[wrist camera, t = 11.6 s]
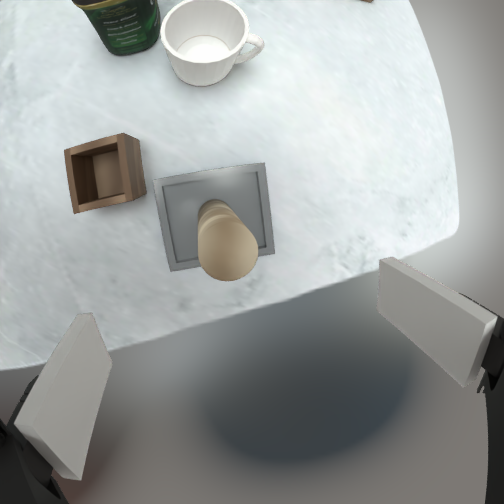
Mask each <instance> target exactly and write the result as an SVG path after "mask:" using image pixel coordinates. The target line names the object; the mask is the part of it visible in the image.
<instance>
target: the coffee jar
mask: <svg viewBox="0 0 504 504" xmlns="http://www.w3.org/2000/svg"><path fill="white" fill-rule="evenodd" d="M72 1H73V3H74V4H75V5H76V6H77V7H79V8H81V9H82V10H83V11H84V12H85V14H86V15H87V17H88V18H89V20H90V22H91V23H92V25H93V26H94V28H95V30H96V31H97V33H98V35H99V36H100V38H101V40H102V41H103V43H104V45H105V46H106V48H107V49H108V51H109V52H111V53H113V54H116V55H123V54H130V53H135V52H139V51H142V50H145V49H147V48H149V47H150V46H151V45H153V44H154V43H155V41H156V40H157V38H158V34H159V28H160V12H159V7H158V2H157V0H72Z"/></svg>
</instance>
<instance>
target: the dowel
mask: <svg viewBox="0 0 504 504" xmlns="http://www.w3.org/2000/svg"><path fill="white" fill-rule="evenodd" d="M198 258H199V262H200V264H201V266H202V268H203V269H204V271H205V272H206V273H207V274H208V275H210V276H211V277H213V278H215V279H217V280H221V281H234V280H237V279H240V278H242V277H244V276H245V275H247V274H248V273H249V272H250V271H251V270H252V268H253V267H254V265H255V263H256V261H257V258H258V245H257V242H256V239H255V237H254V236H253V234H252V233H251V232H250V231H249V229H248V228H247V227H246V226H245V225H244V224H243V222H242V221H241V220H240V219H239V218H238V216H237V215H236V214H235V213H234V212H233V211H232V209H231V208H230V207H229V206H228V205H227V204H226V203H225V202H224V201H222V200H218V199H212V200H209V201H207V202H205V203H204V204H203V205H202V206H201V207H200V209H199V212H198Z"/></svg>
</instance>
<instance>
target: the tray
mask: <svg viewBox="0 0 504 504" xmlns="http://www.w3.org/2000/svg"><path fill="white" fill-rule="evenodd" d="M153 185H154V191H155V197H156V203H157V208H158V214H159V219H160V225H161V230H162V235H163V240H164V245H165V250H166V254H167V259H168V263H169V268H170V272H172V271H178V270H184V269H189V268H195V267H201V264H200V262H199V258H198V212H199V209H200V207H201V206H202V205H203V204H204V203H205V202H207V201H209V200H212V199H218V200H222V201H224V202H225V203H226V204H227V205H228V206H229V207H230V208H231V209H232V211H233V212H234V213H235V214H236V215H237V216H238V218H239V219H240V220H241V221H242V222H243V224H244V225H245V226H246V227H247V228H248V229H249V231H250V232H251V233H252V234H253V236H254V237H255V239H256V242H257V245H258V257H259V256H264V255H270V254H275V249H274V240H273V231H272V222H271V213H270V204H269V195H268V186H267V178H266V170H265V163H256V164H248V165H240V166H233V167H226V168H219V169H212V170H206V171H199V172H193V173H187V174H182V175H176V176H171V177H165V178H160V179H155V180H153Z"/></svg>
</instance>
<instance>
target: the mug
mask: <svg viewBox="0 0 504 504" xmlns="http://www.w3.org/2000/svg"><path fill="white" fill-rule="evenodd" d="M160 32H161V39H162V43H163V45H164V47H165V50H166V52H167V55H168V57H169V60H170V62H171V65H172V67H173V70H174V71H175V73H176V75H177V76H178V77H179V78H180V79H181V80H182V81H184V82H185V83H187V84H190V85H194V86H208V85H213V84H215V83H217V82H219V81H221V80H222V79H223V78H225V77H226V76H227V74H228V73H229V72H230V70H231V68H232V66H233V64H237V63H243V62H245V61H248V60H250V59H252V58H254V57H255V56H256V55H258V54H259V53H260V52H261V51H262V50H263V48H264V42H263V39H262V38H260V37H259V36H257V35H254V34H251V33H249V23H248V19H247V16H246V15H245V13H244V12H243V10H242V9H241V8H239V7H238V6H237V5H236V4H235V3H233V2H231V1H229V0H185V1H183V2H181V3H179V4H178V5H176V6H175V7H173V8H172V9H171V10H170V11H169V12H168V13H167V15H166V16H165V18H164V20H163V22H162V26H161V31H160ZM245 42H247V43H250V44H253V45H255V46H256V47H255V48H253V49H252V50H251V51H249V52H247V53H245V54H242V55H239V53H240V51H241V49H242V48H243V46H244V44H245Z"/></svg>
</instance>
